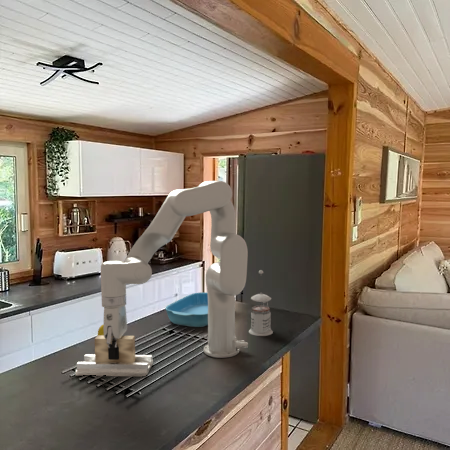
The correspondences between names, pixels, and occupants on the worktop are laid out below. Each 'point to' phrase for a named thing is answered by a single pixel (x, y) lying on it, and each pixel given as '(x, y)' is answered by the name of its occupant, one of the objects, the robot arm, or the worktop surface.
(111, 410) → the worktop surface
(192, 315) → the casserole dish
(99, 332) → the lemon
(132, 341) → the tan wooden block
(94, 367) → the bottom track
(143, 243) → the robot arm
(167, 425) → the worktop surface
